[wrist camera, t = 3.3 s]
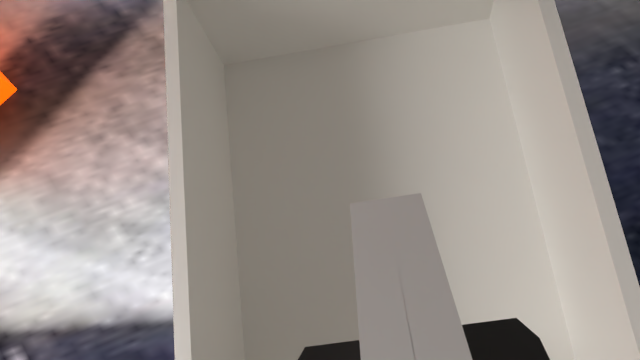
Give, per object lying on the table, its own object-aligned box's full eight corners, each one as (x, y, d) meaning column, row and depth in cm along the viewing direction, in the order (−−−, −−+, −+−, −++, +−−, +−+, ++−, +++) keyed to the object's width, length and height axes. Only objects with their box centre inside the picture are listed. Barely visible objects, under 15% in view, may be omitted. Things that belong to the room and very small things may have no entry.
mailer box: (595, 397, 26) (675, 407, 18) (241, 438, 27) (178, 463, 19) (496, 13, 32) (525, -97, 25) (216, 63, 34) (162, -27, 26)
